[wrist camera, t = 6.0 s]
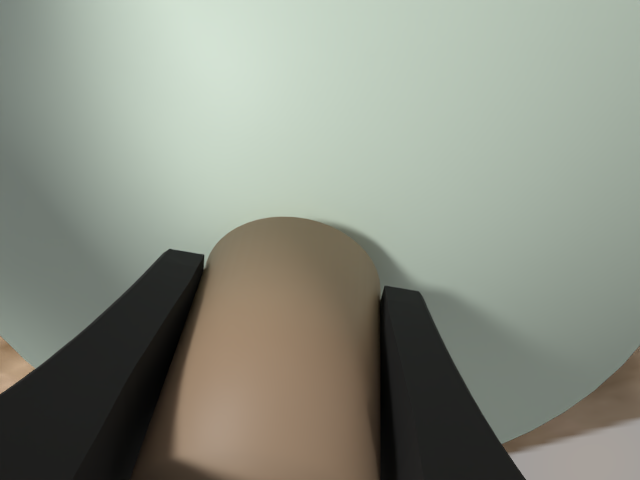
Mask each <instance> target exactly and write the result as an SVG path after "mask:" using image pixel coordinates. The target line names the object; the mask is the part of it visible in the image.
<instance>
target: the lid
mask: <svg viewBox="0 0 640 480" xmlns="http://www.w3.org/2000/svg"><path fill="white" fill-rule="evenodd" d="M168 249H174V250H180V251H186V252H192V253H198V254H204V255H205V256H204V271H203V274H202V277H201V279H200V282H199V285H198V288H197V291H196V294H195V296H194V299H193V302H192V305H191V308H190V311H189V313H188V316H187V319H186V322H185V325H184V327H183V330H182V333H181V336H180V339H179V341H178V344H177V347H176V350H175V353H174V356H173V358H172V361H171V364H170V367H169V370H168V373H167V375H166V378H165V381H164V384H163V387H162V390H161V392H160V395H159V398H158V401H157V404H156V407H155V409H154V412H153V415H152V418H151V421H150V424H149V426H148V429H147V432H146V435H145V438H144V441H143V443H142V446H141V449H140V452H139V455H138V458H137V461H136V463H135V466H134V469H133V472H132V475H131V478H130V480H380V300H381V296H382V293H383V290H384V286H391V287H397V288H403V289H409V290H415V291H419V292H420V293H421V295H422V296H423V298H424V300H425V302H426V305H427V307H428V309H429V312H430V314H431V316H432V318H433V321H434V323H435V325H436V327H437V329H438V331H439V333H440V336H441V338H442V340H443V342H444V344H445V346H446V348H447V350H448V352H449V354H450V356H451V358H452V360H453V362H454V364H455V366H456V367H457V369H458V371H459V373H460V375H461V377H462V378H463V380H464V382H465V384H466V386H467V387H468V389H469V391H470V393H471V395H472V397H473V398H474V400H475V402H476V403H477V405H478V407H479V409H480V410H481V412H482V414H483V415H484V417H485V419H486V420H487V422H488V423H489V425H490V427H491V428H492V430H493V431H494V433H495V435H496V436H497V438H498V439H499V441H500V443H501V444H503V443H505V442H507V441H510V440H512V439H514V438H517V437H519V436H521V435H523V434H526V433H528V432H530V431H532V430H534V429H536V428H537V427H539V426H541V425H543V424H544V423H546V422H548V421H550V420H551V419H553V418H555V417H557V416H559V415H560V414H562V413H564V412H565V411H567V410H568V409H569V408H571V407H572V406H574V405H575V404H576V403H578V402H579V401H581V400H582V399H583V398H585V397H586V396H588V395H589V394H590V393H592V392H593V391H594V390H596V389H597V388H598V387H599V386H600V385H601V384H602V383H603V382H604V381H606V380H607V379H608V378H609V377H610V376H611V375H612V374H613V373H614V372H616V371H617V370H618V369H619V368H620V367H621V366H622V365H623V364H624V363H625V362H626V361H627V359H628V358H629V357H630V356H631V355H632V354H633V353H634V351H635V350H636V349H637V348H638V347H639V346H640V0H0V336H1V337H2V338H3V339H4V340H5V341H6V342H7V343H8V344H10V345H11V346H12V347H13V348H14V349H15V350H16V351H17V352H18V353H19V354H20V355H21V356H22V357H23V358H24V359H25V360H26V361H27V362H28V363H30V364H31V365H32V366H33V367H34V368H37V367H38V366H40V365H41V364H42V363H44V362H45V361H46V360H47V359H49V358H50V357H51V356H52V355H54V354H55V353H56V352H57V351H58V350H60V349H61V348H62V347H63V346H65V345H66V344H67V343H68V342H69V341H71V340H72V339H73V338H74V337H76V336H77V335H78V334H79V333H80V332H82V331H83V330H84V329H85V328H86V327H87V326H89V325H90V324H91V323H92V322H93V321H94V320H95V319H96V318H97V317H99V316H100V315H101V314H102V313H103V312H104V311H105V310H106V309H107V308H108V307H109V306H111V305H112V304H113V303H114V302H115V301H116V300H117V299H118V298H119V297H120V296H121V295H122V294H123V293H124V292H125V291H126V290H128V289H129V288H130V287H131V286H132V285H133V284H134V283H135V282H136V281H137V280H138V279H139V278H140V277H141V276H142V275H143V274H144V273H145V272H146V270H147V269H148V268H149V267H150V266H151V265H152V264H153V263H154V262H155V261H156V260H157V259H158V258H159V257H160V256H161V255H162V253H164V252H165V251H167V250H168Z"/></svg>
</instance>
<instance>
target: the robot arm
mask: <svg viewBox="0 0 640 480" xmlns="http://www.w3.org/2000/svg"><path fill="white" fill-rule="evenodd" d="M204 256H205V255H204V254H198V253H192V252H186V251H180V250H174V249H168V250H167V251H165V252H164V253H162V255H161V256H160V257H159V258H158V259H157V260H156V261H155V262H154V263H153V264H152V265H151V266H150V267H149V268H148V269H147V270H146V272H145V273H144V274H143V275H142V276H141V277H140V278H139V279H138V280H137V281H136V282H135V283H134V284H133V285H132V286H131V287H130V288H129V289H128V290H126V291H125V292H124V293H123V294H122V295H121V296H120V297H119V298H118V299H117V300H116V301H115V302H114V303H113V304H112V305H111V306H109V307H108V308H107V309H106V310H105V311H104V312H103V313H102V314H101V315H100V316H99V317H97V318H96V319H95V320H94V321H93V322H92V323H91V324H90V325H89V326H87V327H86V328H85V329H84V330H83V331H82V332H80V333H79V334H78V335H77V336H76V337H74V338H73V339H72V340H71V341H69V342H68V343H67V344H66V345H65V346H63V347H62V348H61V349H60V350H58V351H57V352H56V353H55V354H54V355H52V356H51V357H50V358H49V359H47V360H46V361H45V362H44V363H42V364H41V365H40V366H38V367H37V368H36V369H34V370H33V371H32V372H30V373H29V374H28V375H27V376H25V377H24V378H22V379H21V380H20V381H18V382H17V383H16V384H14V385H13V386H11V387H10V388H9V389H7V390H6V391H4V392H3V393H1V394H0V480H130V478H131V475H132V472H133V469H134V466H135V463H136V461H137V458H138V455H139V452H140V449H141V446H142V443H143V441H144V438H145V435H146V432H147V429H148V426H149V424H150V421H151V418H152V415H153V412H154V409H155V407H156V404H157V401H158V398H159V395H160V392H161V390H162V387H163V384H164V381H165V378H166V375H167V373H168V370H169V367H170V364H171V361H172V358H173V356H174V353H175V350H176V347H177V344H178V341H179V339H180V336H181V333H182V330H183V327H184V325H185V322H186V319H187V316H188V313H189V311H190V308H191V305H192V302H193V299H194V296H195V294H196V291H197V288H198V285H199V282H200V279H201V277H202V274H203V271H204ZM380 480H526V479H525V478H524V476H523V475H522V474H521V472H520V471H519V469H518V468H517V467H516V465H515V464H514V462H513V461H512V459H511V458H510V456H509V455H508V453H507V452H506V450H505V449H504V447H503V446H502V444H501V443H500V441H499V439H498V438H497V436H496V435H495V433H494V431H493V430H492V428H491V427H490V425H489V423H488V422H487V420H486V419H485V417H484V415H483V414H482V412H481V410H480V409H479V407H478V405H477V403H476V402H475V400H474V398H473V397H472V395H471V393H470V391H469V389H468V387H467V386H466V384H465V382H464V380H463V378H462V377H461V375H460V373H459V371H458V369H457V367H456V366H455V364H454V362H453V360H452V358H451V356H450V354H449V352H448V350H447V348H446V346H445V344H444V342H443V340H442V338H441V336H440V333H439V331H438V329H437V327H436V325H435V323H434V321H433V318H432V316H431V314H430V312H429V309H428V307H427V305H426V302H425V300H424V298H423V296H422V295H421V293H420V292H419V291H415V290H409V289H403V288H397V287H391V286H384V290H383V293H382V296H381V300H380Z"/></svg>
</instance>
